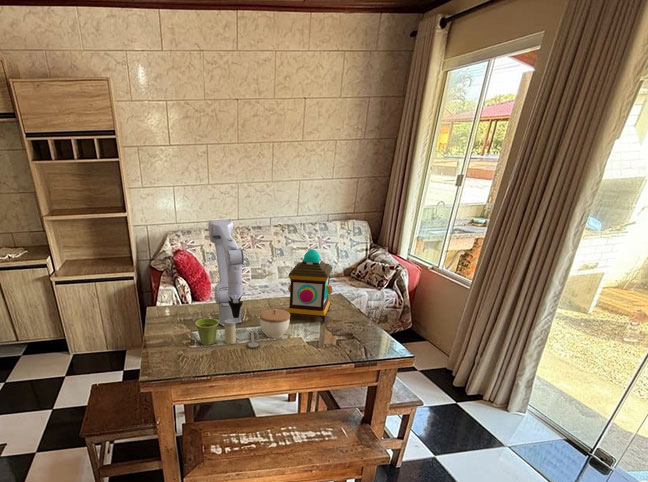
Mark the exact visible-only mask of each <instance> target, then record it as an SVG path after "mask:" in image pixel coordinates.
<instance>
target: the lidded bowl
mask: <svg viewBox="0 0 648 482" xmlns="http://www.w3.org/2000/svg"><path fill="white" fill-rule="evenodd" d="M290 319H291V315H290V313H289V312H288V311H287V310H286V309H281V308H269V309H264V310H262V311H260V313H259V325H260V329H261V331H262V332H263V333H264V334H265V336H266V337H268V338H270V339H279V338H281V337H283V336H284V334H286V333H287V331H288V330H289V327H290V322H291V320H290Z"/></svg>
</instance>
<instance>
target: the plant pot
mask: <svg viewBox="0 0 648 482" xmlns="http://www.w3.org/2000/svg"><path fill="white" fill-rule="evenodd" d="M218 320H219V319H215V318H211V317H206V318H205V317H204V318H200V319H197V320H196V321H195V322H194V324H195V326H196V328H197V332H198V336H199V341H200V343H201V344H202V345H204V346H210V345H213V344H214V345H215V343H216V341H217V338H216V337H217V331H218V330H217V329H218V326H219V322H218Z"/></svg>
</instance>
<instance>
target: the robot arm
mask: <svg viewBox="0 0 648 482" xmlns="http://www.w3.org/2000/svg"><path fill="white" fill-rule="evenodd" d="M207 225H208V229H207V230H208V235H209V241H210V243H212V244H214V247H215V253H216V254H215V255H216V262H217V269H218V270H217V271H218V277H219V278H218V279H219V282H218V283H217V284H216V285H215V286H214V288H213V289H214V302H215V304H217V305H218V319H217V320H218V322H219V323H218V325H220V326H223V328H225V325H224V321H225V320H227V319H234V320H235V321H236V325H237V324H240V323H242V322H243V321H242V305H243V304H244V301H243V300H241V299H242V296H243V295H246V291H245V290H243V265H244V262H245V255H244V251H243V249H242V248H240V247H239V245H238V244H237V240H236V239H235V238H233V233H234V223H233V220H232V219H231V218H229V219H215V220H211V219H210V220H209V221H208V223H207Z"/></svg>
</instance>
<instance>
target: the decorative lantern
mask: <svg viewBox="0 0 648 482" xmlns="http://www.w3.org/2000/svg"><path fill="white" fill-rule="evenodd" d="M333 269H334V268H333V266H332V265H330V264H329V263H328V262H327V263H326V262H325V261H323V260H322V258H321V254H320V253H319V252H318V251H317V250H316V249H314V248H310V249H309V250H308V251H307V252H305V254H304V255H303V259H302V261H299V262H297V263H296V264H295V266H294V267H293V268H292V270H291V271H290V272H289V273H288V278H289V280H290V285H288V287H287V289H288V293H289V307H288V308H287V310H286V311H288V312H289V313H290V316H291V315H294V316H306V317H315V318H316V317H317V318H320V320H321V323H322V324H324V323H325V322H326V316H327V313H328V311H330V308H331V303H330V300H329V295H332V293H333V286H332V285H331V284H330V279H331V273H332V271H333Z"/></svg>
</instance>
